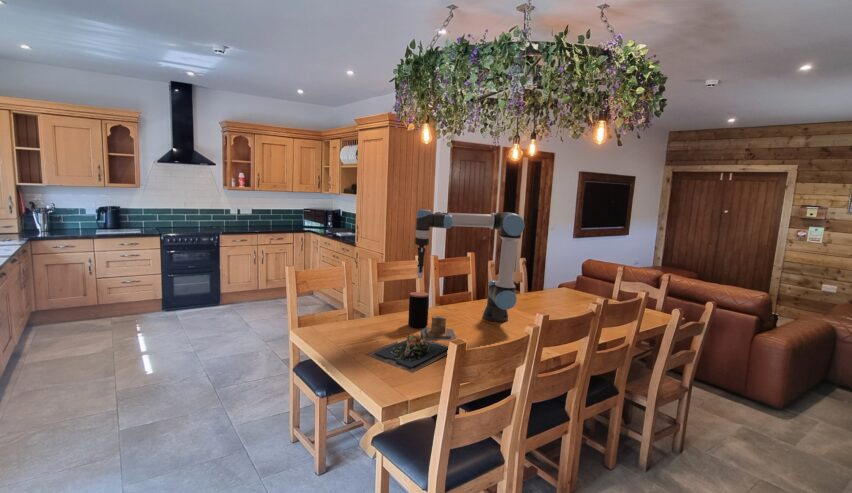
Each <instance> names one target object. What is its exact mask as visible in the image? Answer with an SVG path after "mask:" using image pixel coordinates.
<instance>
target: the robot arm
mask: <svg viewBox="0 0 852 493" xmlns="http://www.w3.org/2000/svg"><path fill="white" fill-rule="evenodd" d="M416 211H417V212H416V223H415V224H416V225H415V230H414V234H415V239H414V244H415V245H416V246H418V247H417V265H416V266H417V268H416V269H417V270H416V273H417V279H424V278H423V275H424V262H425V261H424V260H425V255H426V254H425V252H426V248H425V246H426V247H427V246H429V243H430V239H429V238H430V232H431V231H430V228H436V229H451V228H452V227H468V228H469V227H470V228H472V227H474V228H489V229H490V230H497V231H500V232H499V237H500V239H501V247H500V257H499V265H498V266H499V267H498V269H499V270H498V276H497V280H490V281H488V285H487V286H488V288H487V300H486V306H485V308H484V311H483V314H482V318H483V319H485V320H486V321H489V322H495V323H501V322H502V323H504V322H503V321H505V322H507V321H508V320H509V313H508V310H511V309H512V308H514V307H515V306H516V304H517V301H518V300H517V295H516V285H515V283H514V278H515V270H516V269H515V268H516V260H517V249H518V242H519V241H520V240H521V238H522V233H523V231H525V221H524V218H522V216H520V215H519V214H518V213H515V212H510V211H504V212H503V211H502V212H491V213H490V214H489V213H487V214H486V213H485V214H484V213H464V212H463V213H459V212H440V211H436V212H434V213H431V212H432V211H431V210H430V209H422V208H420V209H418V210H416Z"/></svg>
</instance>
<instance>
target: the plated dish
mask: <svg viewBox="0 0 852 493" xmlns="http://www.w3.org/2000/svg"><path fill="white" fill-rule="evenodd" d="M422 331H423V329H422ZM422 331H421V332H420V334H417V333H416V335H414V334H412V335H410V333H408V335H407V337H405V338H406V339H405V340H403V341H400V342H398V341H396V340H395V341H394V342H392V343H388V344H386V345H385V346H381V347H380V348H379V347H378V348H377V349H375V350H372V351H370V352H368V353H365V355H366V356H369V357H372V358H374V359H376V360H379V361H381V362H384V363H385V364H386V363H387V364H389V365H390V366H391V365H392V366H394V367H396V368H399V369H401V370H403V371H407V372H409V373H411V374H413V373H415V372H417V371H419V370H421V369H422V368H424V367H426V366H428V365H430V364H431V363H434V362H435V361H438V360H439V359H441V358H443V357H445V356H447V355H448V354H447V350H448V345H446V344H442V343H439V342H436V341H434V340H427V339H425V338H423V336H424V335H423V334H422Z"/></svg>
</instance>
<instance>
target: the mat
mask: <svg viewBox="0 0 852 493" xmlns="http://www.w3.org/2000/svg"><path fill="white" fill-rule="evenodd" d="M426 328H427V327H425V328H419V331H420V333H421V331H422V329H423V331H422V334H423V335H424V336H423V338H425V339H427V340H430V341H444V342H445V341H448V342H450V341H451V340H454V339H457V337H456V334H455V332H454V329H453V328H448V330H449V333H450V336H451V338H450V339H449V338H427V334H426ZM451 342H452V341H451Z"/></svg>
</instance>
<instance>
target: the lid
mask: <svg viewBox="0 0 852 493" xmlns="http://www.w3.org/2000/svg"><path fill="white" fill-rule="evenodd" d="M430 325H431V326H430V327H425V328H426V334H427V338H449V339H450V338H451V336H450V333H449V330H448V329H449V328H447V327H446V325H447V317H446V316H445V315H444V316H443V315H432V316H431V324H430Z"/></svg>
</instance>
